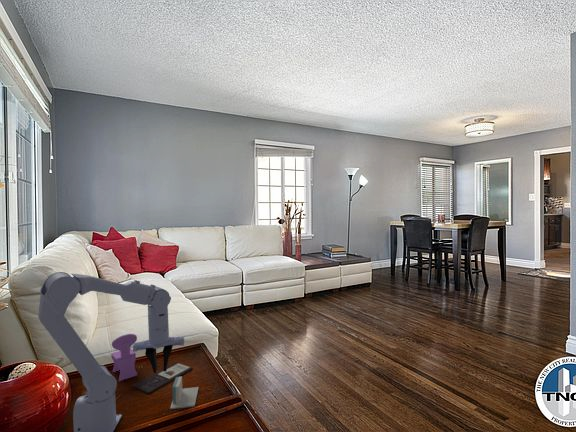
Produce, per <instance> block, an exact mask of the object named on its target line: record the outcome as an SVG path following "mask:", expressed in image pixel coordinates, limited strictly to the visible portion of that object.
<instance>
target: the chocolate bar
mask: <svg viewBox="0 0 576 432" xmlns="http://www.w3.org/2000/svg"><path fill="white" fill-rule="evenodd" d="M191 371H193V367H191V366H187V365H185V364H182V363H179V362H175V363H173V364H171V365H169V366H167V370H166V371H165V372H164V368H163V369H161V370H159V371H156V373H153V374H152V375H149V376H147V377H146V378H143V379H142V380H141V379H140V381H137V382H135V383H134V384H131V388H134V389H136V390H138V391H140V392H142V393H145V394H147V395H149V394H152V393H154V392H155V391H157V390H160V389H161V388H162V387H165V386H166V385H168V384H170V383H172V382H174V381H175V379H176V377H183V375H186V374H188V373H189V372H191Z"/></svg>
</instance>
